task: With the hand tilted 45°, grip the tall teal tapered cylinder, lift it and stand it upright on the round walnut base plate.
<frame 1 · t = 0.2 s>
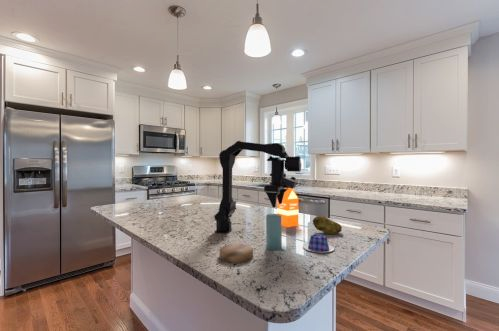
hand: (277, 205, 114), 14 cm above the countertop, tool pointing down, fingers open, 9 cm apart
teal tapered cylinder: (273, 248, 99), on the countertop
orange juice: (287, 224, 137), on the countertop
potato: (326, 233, 120), on the countertop
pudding: (318, 249, 99), on the countertop
base plate: (236, 256, 91), on the countertop
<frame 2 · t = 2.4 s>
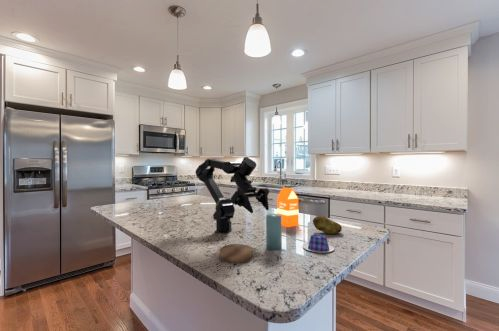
hand: (260, 211, 105), 14 cm above the countertop, tool tilted 45°, fingers open, 9 cm apart
nothing on the countertop moved.
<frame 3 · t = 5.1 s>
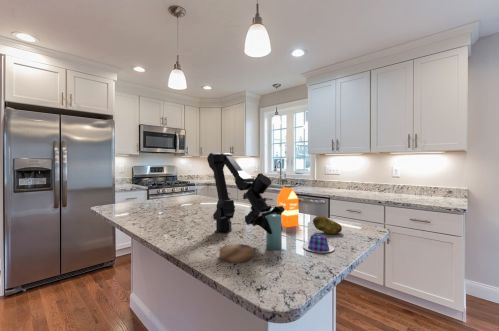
hand: (276, 232, 98), 7 cm above the countertop, tool tilted 45°, fingers closed on teal tapered cylinder, 6 cm apart
teal tapered cylinder: (273, 248, 99), on the countertop, touching gripper
everything else where it was.
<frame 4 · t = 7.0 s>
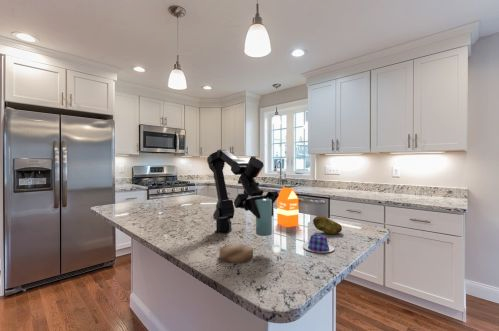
hand: (266, 216, 95), 13 cm above the countertop, tool tilted 45°, fingers closed on teal tapered cylinder, 6 cm apart
teal tapered cylinder: (263, 233, 96), point 7 cm above the countertop, touching gripper
everything else where it was.
when the fingers open (10 cm above the countertop, at t = 8.9 s): teal tapered cylinder drops 1 cm, resting on base plate.
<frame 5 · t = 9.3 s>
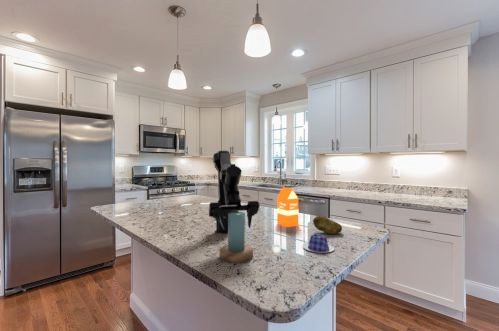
hand: (237, 228, 89), 11 cm above the countertop, tool tilted 45°, fingers open, 9 cm apart
teal tapered cylinder: (236, 249, 91), point 3 cm above the countertop, touching base plate
everything else where it was.
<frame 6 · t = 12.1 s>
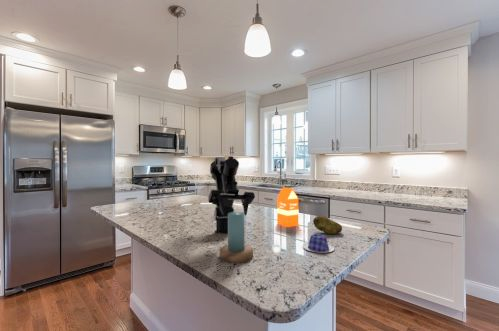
hand: (234, 215, 99), 13 cm above the countertop, tool tilted 40°, fingers open, 9 cm apart
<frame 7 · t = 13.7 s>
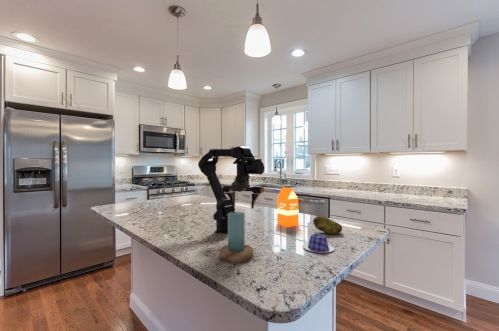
hand: (243, 207, 116), 13 cm above the countertop, tool pointing down, fingers open, 9 cm apart
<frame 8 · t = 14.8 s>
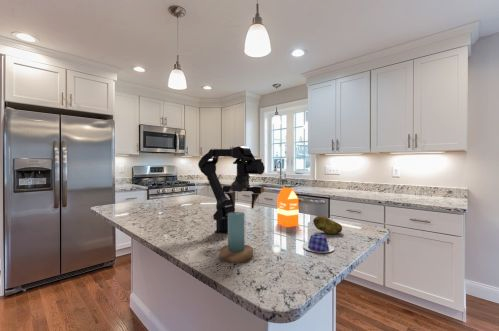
hand: (243, 207, 116), 13 cm above the countertop, tool pointing down, fingers open, 9 cm apart
at the end: teal tapered cylinder 0.1 cm off-centre on the base plate, point 2.5 cm above the base plate's base; teal tapered cylinder tilted 0°; teal tapered cylinder touching base plate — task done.
